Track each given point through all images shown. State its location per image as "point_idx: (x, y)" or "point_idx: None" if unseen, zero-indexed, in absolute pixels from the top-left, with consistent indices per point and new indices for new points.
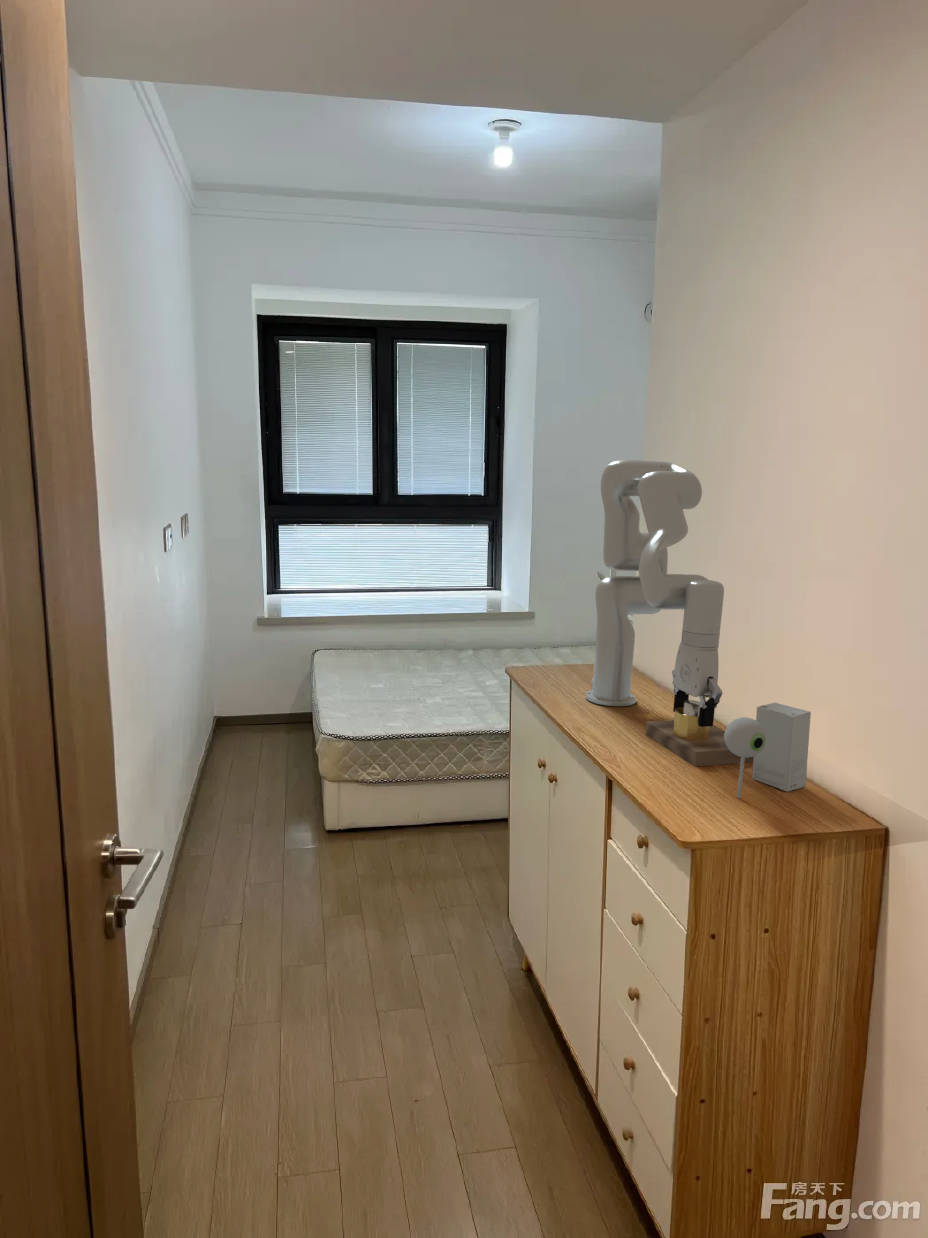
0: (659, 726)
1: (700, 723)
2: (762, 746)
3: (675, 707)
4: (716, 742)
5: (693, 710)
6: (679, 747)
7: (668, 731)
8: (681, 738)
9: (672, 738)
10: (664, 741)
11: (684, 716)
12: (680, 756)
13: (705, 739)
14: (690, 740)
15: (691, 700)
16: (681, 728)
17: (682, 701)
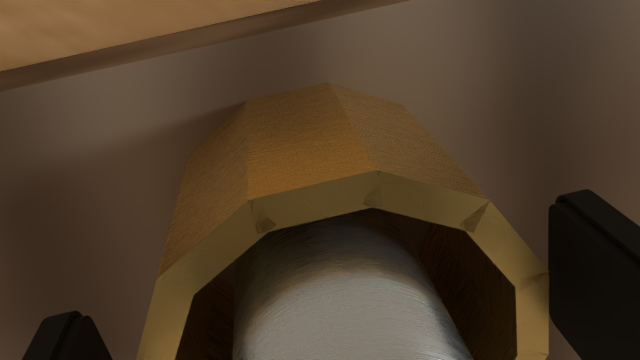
0: (547, 21)
1: (36, 342)
2: None
3: (587, 227)
4: None
5: None
6: (105, 59)
7: (404, 61)
8: (206, 118)
9: (225, 40)
10: (343, 2)
11: (202, 232)
12: (96, 51)
13: None
14: (162, 178)
15: None
16: (224, 148)
17: (625, 348)
